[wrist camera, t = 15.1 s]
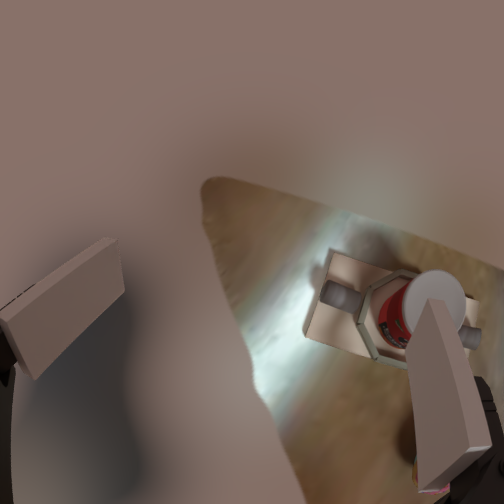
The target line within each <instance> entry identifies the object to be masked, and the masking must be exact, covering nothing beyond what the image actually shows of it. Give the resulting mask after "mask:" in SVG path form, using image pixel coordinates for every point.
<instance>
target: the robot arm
mask: <svg viewBox="0 0 504 504" xmlns="http://www.w3.org/2000/svg"><path fill="white" fill-rule="evenodd" d="M123 292H125V289H124V282H123V276H122V269H121V262H120V254H119V246H118V240H117V239H113V238H108V237H104V238H103V239H101V240H99V241H98V242H96V243H95V244H93V245H92V246H90V247H89V248H87V249H86V250H84V251H83V252H81V253H80V254H78V255H77V256H75V257H74V258H72V259H71V260H69V261H68V262H66V263H65V264H63V265H62V266H60V267H59V268H58V269H56V270H55V271H53V272H52V273H51V274H49V275H48V276H46V277H45V278H43V279H42V280H41V281H39V282H38V283H37V284H34V285H32V286H31V287H29V288H28V289H27V290H25V291H24V293H22V294H20V295H19V296H17V298H16V299H13V300H12V301H11V302H9V303H8V304H7V305H6V306H4V307H3V308H2V309H1V310H0V504H14V503H13V493H12V479H11V416H12V403H13V392H14V383H15V375H16V371H15V367H14V364H15V363H16V362H17V361H18V363H19V365H20V367H21V369H22V371H23V372H24V373H25V374H26V375H28V376H29V377H31V378H32V379H34V380H36V379H37V378H38V377H39V376H40V375H41V373H42V372H43V371H44V370H45V369H46V368H47V367H48V366H49V365H50V364H51V363H52V362H53V361H54V360H55V359H56V358H57V357H58V356H59V355H60V354H61V353H62V352H63V351H64V350H65V349H66V348H67V346H69V345H70V344H71V343H72V342H73V341H74V340H75V339H76V338H77V337H78V336H79V335H80V334H81V333H82V332H83V331H84V330H85V329H86V328H87V327H88V326H89V325H90V324H91V323H92V322H93V321H94V320H95V319H96V318H97V317H98V316H99V315H100V314H101V313H102V312H103V311H104V310H105V309H107V308H108V307H109V306H110V305H111V304H112V303H113V302H114V301H115V300H116V299H117V298H118V297H119V296H120V295H121V294H122V293H123ZM405 356H406V362H407V368H408V375H409V382H410V389H411V396H412V405H413V414H414V423H415V435H416V448H417V467H418V492H432V491H440V490H441V489H442V488H444V487H445V486H446V485H448V484H449V483H450V492H449V493H448V494H446V495H445V496H443V497H442V498H440V499H439V500H438V501H436V502H435V503H434V504H439V503H440V504H504V434H503V431H502V427H501V423H500V420H499V416H498V413H497V412H496V410H497V409H496V406H495V403H494V402H493V396H492V393H491V390H490V388H489V386H488V385H487V384H486V382H485V381H484V379H483V378H482V377H477V376H473V373H472V370H471V367H470V364H469V362H468V359H467V356H466V353H465V351H464V348H463V345H462V343H461V340H460V337H459V335H458V332H457V330H456V327H455V325H454V322H453V320H452V318H451V315H450V313H449V311H448V308H447V306H446V304H445V301H444V300H438V299H432V298H427V301H426V303H425V306H424V308H423V311H422V313H421V316H420V318H419V320H418V323H417V325H416V327H415V329H414V332H413V334H412V336H411V338H410V340H409V343H408V345H407V347H406V349H405Z"/></svg>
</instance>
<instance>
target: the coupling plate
mask: <svg viewBox="0 0 504 504" xmlns="http://www.w3.org/2000/svg"><path fill="white" fill-rule="evenodd" d="M418 275H419V274H417V273H414V272H411V271H408V270H405V269H401V270H400V269H398V270H396V271H394V272H392V271H389V270H386V269H383V268H380V267H377V266H374V265H371V264H368V263H365V262H362V261H359V260H356V259H353V258H349V257H346V256H343V255H340V254H337V253H334V254H333V257H332V260H331V263H330V266H329V269H328V272H327V275H326V279H325V282H324V285H323V288H322V291H321V294H320V297H319V300H318V302H317V305H316V308H315V311H314V314H313V317H312V320H311V322H310V325H309V328H308V331H307V334H306V336H305V337H306V338H309V339H311V340H314V341H317V342H320V343H323V344H327V345H330V346H333V347H336V348H339V349H342V350H345V351H348V352H352V353H355V354H358V355H361V356H364V357H368V358H371V359H374V361H376V362H379V363H382V364H386V365H389V366H393V367H396V368H400V369H403V370H408V368H407V362H406V356H405V349H396V348H394V347H392V346H390V345H389V344H387V342H386V341H385V340H384V339H383V337H382V336H381V333H380V330H379V325H378V317H379V313H380V310H381V308H382V305H383V304H384V302H385V301H386V300H387V299H388V298H389V297H390V296H391V295H393V294H394V293H395V292H397V291H398V290H399V289H401V288H402V287H403V286H404V285H406V284H407V283H408V282H409V281H411V280H412V279H413V278H415V277H416V276H418ZM465 298H466V315H465V318H464V322H463V324H462V326H461V328H460V329H459V330H458V335H459V337H460V340H461V343H462V345H463V348H464V351H465V353H466V356H467V359H468V357H469V353H470V349H471V350H476V349H477V347H478V345H479V343H480V339H481V329H479V328H475V325H476V320H477V315H478V309H479V302H478V301H475V300H473V299H470V298H467V297H465Z"/></svg>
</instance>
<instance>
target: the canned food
mask: <svg viewBox="0 0 504 504" xmlns="http://www.w3.org/2000/svg"><path fill="white" fill-rule="evenodd" d="M427 298H432V299H438V300H444V301H445V304H446V306H447V308H448V311H449V313H450V315H451V318H452V320H453V322H454V325H455V327H456V330H457V332H458V330H459V329H460V328H461V326H462V324H463V322H464V318H465V315H466V298H465V293H464V291H463V288H462V286H461V285H460V283H459V281H458V280H457V279H456V278H455V277H454V276H453V275H451V274H450V273H448V272H446V271H443V270H439V269H432V270H428V271H425V272H423V273H421V274H419V275H418V276H416V277H415V278H413V279H412V280H411V281H409V282H408V283H407V284H406V285H404V286H403V287H402V288H401V289H399V290H398V291H397V292H395V293H394V294H393V295H391V296H390V297H389V298H388V299H387V300H386V301H385V302H384V304H383V305H382V308H381V310H380V313H379V317H378V325H379V330H380V333H381V336H382V337H383V339H384V340H385V341H386V342H387V344H389V345H390V346H392V347H394V348H396V349H406V347H407V345H408V343H409V340H410V338H411V336H412V334H413V332H414V329H415V327H416V325H417V323H418V320H419V318H420V316H421V313H422V311H423V308H424V306H425V303H426V301H427Z"/></svg>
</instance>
